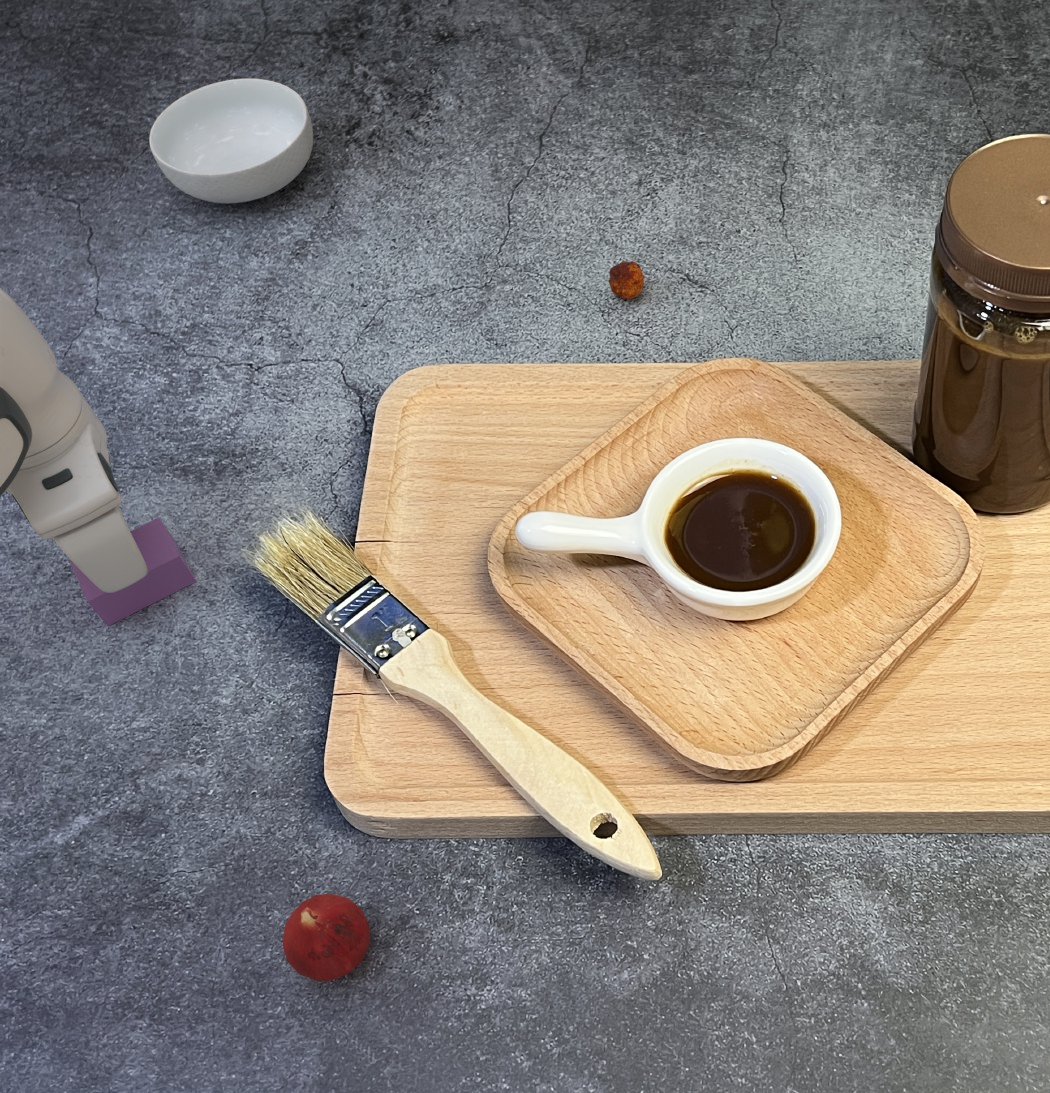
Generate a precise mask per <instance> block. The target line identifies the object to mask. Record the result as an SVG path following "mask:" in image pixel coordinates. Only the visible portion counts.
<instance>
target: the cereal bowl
mask: <svg viewBox="0 0 1050 1093" xmlns="http://www.w3.org/2000/svg"><path fill="white" fill-rule="evenodd" d="M148 140H149V142H148V143H149V149H150V151H151V153H152V156H153V158H154V160H155V161H156V163H157V166H158V168H160V170H161V172H162V173H163V174H164V175H165V176H164V177H166V178H167V179H168V180H169V182H170V183H171V184H173V185H174V187H175V188H177V189H179V190H180V191H181V192H184V194H186V195H189V196H190V197H194V198H195V199H199V200H202V201H206V202H208V203H215V204H238V203H246V202H251V201H255V200H259V199H262V198H264V197H267V196H269V195H272V194H274V193H276V192H277V191H279V190H281V189H283V188H284V187H285V186H287V185H288V184H290V183H291V182H292V181H294V179H295V178H296V177H298V176H299V174H300V173H301V172H302V171H303V169H304V168H305V167H306V165H307V162H308V161H309V159H310V157H311V155H312V151H313V147H314V130H313V125H312V119H311V115H310V113H309V108H308V107H307V105H306V102H305V101H304V99H303V98H302V96H301V95H300V94H299V93H298V92H296V91H295V90H294V89H292V88H291V87H289V86H287V85H285V84H283V83H280V82H277V81H273V80H270V79H269V80H268V79H264V78H263V79H262V78H235V79H227V80H222V81H218V82H214V83H211V84H207V85H204V86H201V87H199V88H197V89H194V90H192V91H190V92H188V93H185V95H182V96H181V97H179V98H178V99H176V100H175V101H173V102H172V103H171V104H170V105H169V106H167V107H166V108H165V109H164V110H163V111H162V112H161V113H160V114H159V116H157V118H156V119H155V121H154V122H153V125H152V126H151V129H150V132H149V139H148Z"/></svg>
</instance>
